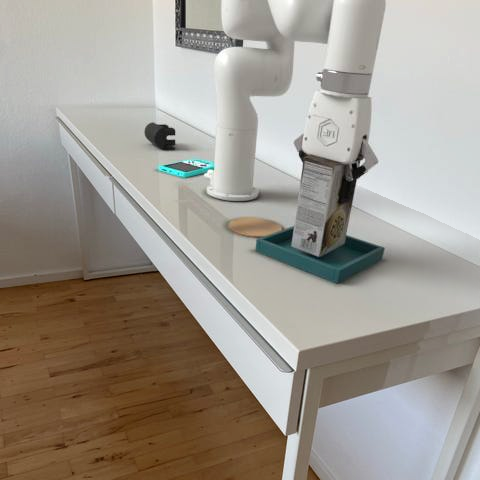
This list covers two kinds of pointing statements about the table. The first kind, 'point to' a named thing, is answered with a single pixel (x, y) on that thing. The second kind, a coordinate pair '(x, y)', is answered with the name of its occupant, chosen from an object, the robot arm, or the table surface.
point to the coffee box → (321, 207)
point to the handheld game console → (187, 167)
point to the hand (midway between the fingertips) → (326, 195)
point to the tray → (327, 266)
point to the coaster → (254, 227)
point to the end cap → (160, 135)
